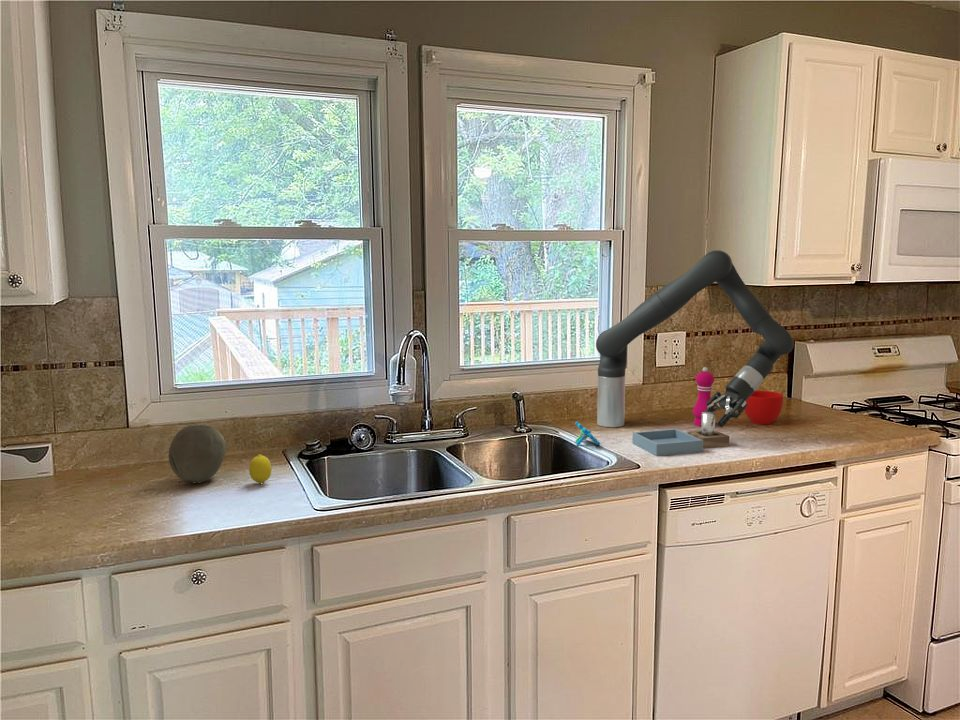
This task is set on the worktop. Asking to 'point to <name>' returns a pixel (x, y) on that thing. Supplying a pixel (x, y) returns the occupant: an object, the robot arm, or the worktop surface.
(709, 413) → the pin
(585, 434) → the blue branched flat part
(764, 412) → the ceramic cup
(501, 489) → the worktop surface
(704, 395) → the pepper mill
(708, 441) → the socket block
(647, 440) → the parts tray
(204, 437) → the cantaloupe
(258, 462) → the lemon
